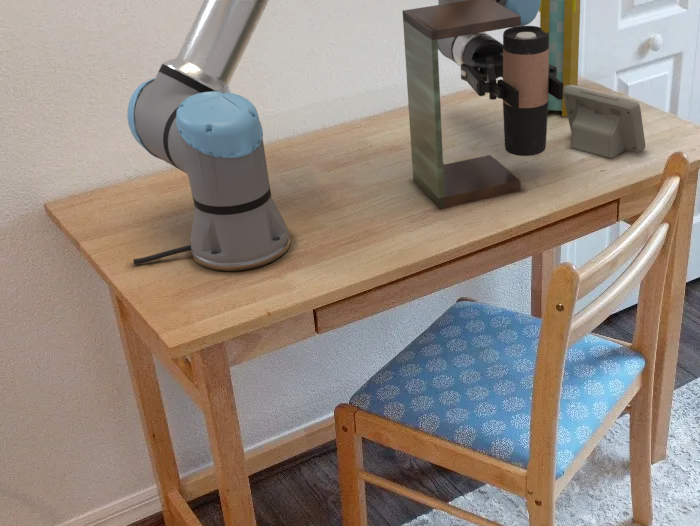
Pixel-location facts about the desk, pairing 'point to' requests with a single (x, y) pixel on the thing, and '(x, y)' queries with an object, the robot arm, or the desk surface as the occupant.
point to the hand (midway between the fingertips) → (538, 95)
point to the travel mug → (526, 89)
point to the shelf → (424, 103)
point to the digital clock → (603, 121)
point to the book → (562, 43)
